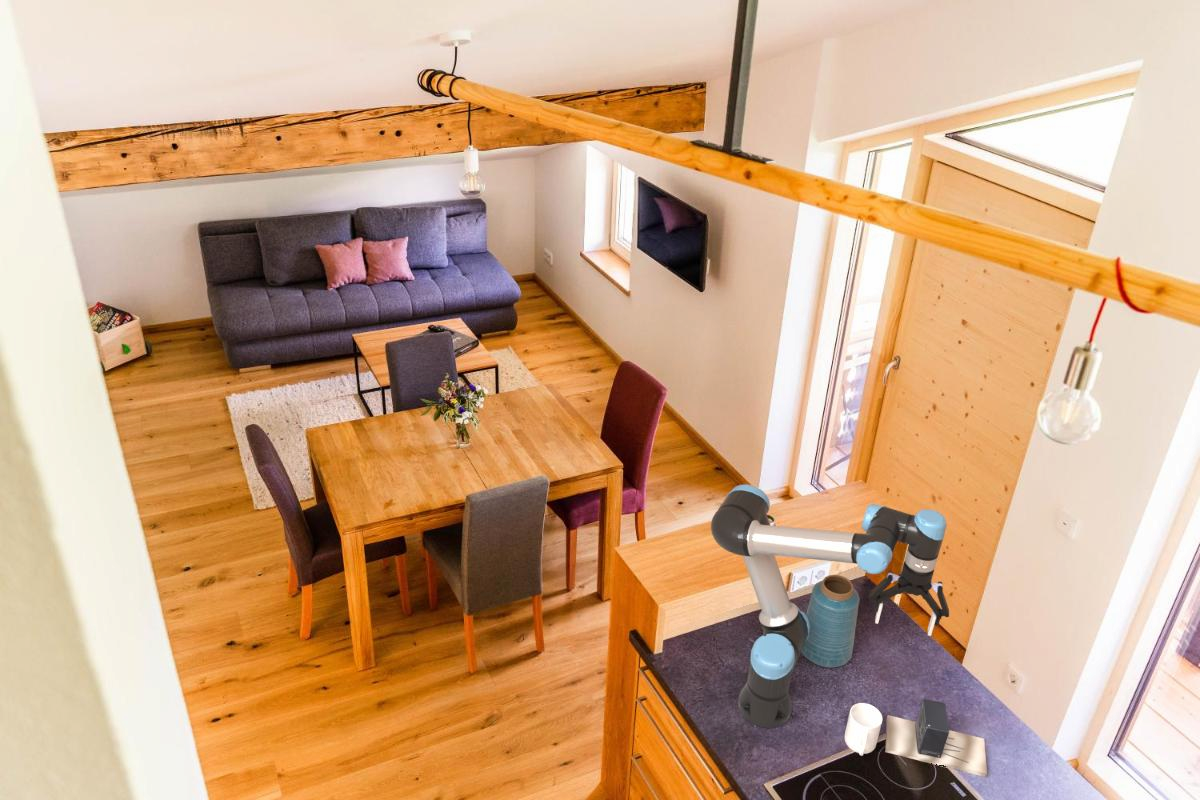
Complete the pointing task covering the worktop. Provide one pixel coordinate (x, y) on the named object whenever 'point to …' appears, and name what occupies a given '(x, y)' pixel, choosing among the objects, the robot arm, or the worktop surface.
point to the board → (956, 753)
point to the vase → (831, 622)
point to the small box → (932, 728)
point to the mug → (863, 728)
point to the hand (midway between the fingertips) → (902, 626)
